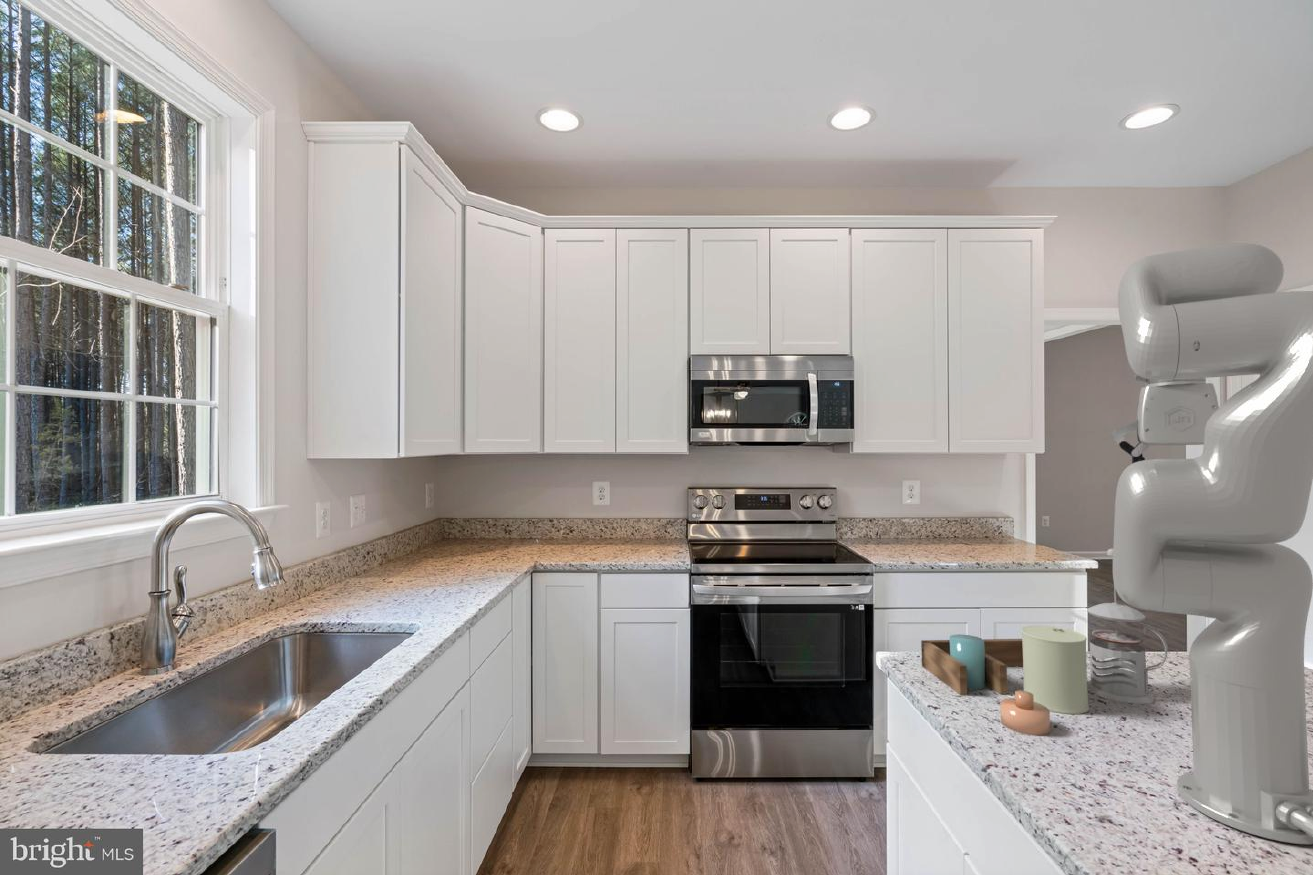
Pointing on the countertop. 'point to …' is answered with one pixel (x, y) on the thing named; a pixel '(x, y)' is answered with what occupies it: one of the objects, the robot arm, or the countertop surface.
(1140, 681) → the french press
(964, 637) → the jar
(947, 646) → the caddy
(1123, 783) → the countertop surface
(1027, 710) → the lid
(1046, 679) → the can
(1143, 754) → the countertop surface
